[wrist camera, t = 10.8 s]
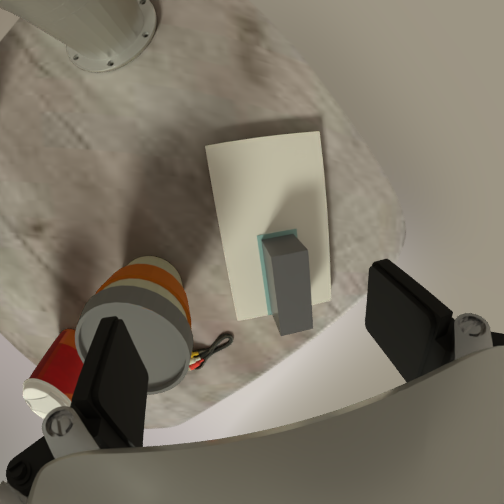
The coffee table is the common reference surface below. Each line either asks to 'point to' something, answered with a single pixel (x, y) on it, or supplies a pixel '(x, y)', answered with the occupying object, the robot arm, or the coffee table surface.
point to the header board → (270, 211)
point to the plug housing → (288, 283)
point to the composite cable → (208, 352)
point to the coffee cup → (54, 376)
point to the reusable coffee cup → (145, 318)
